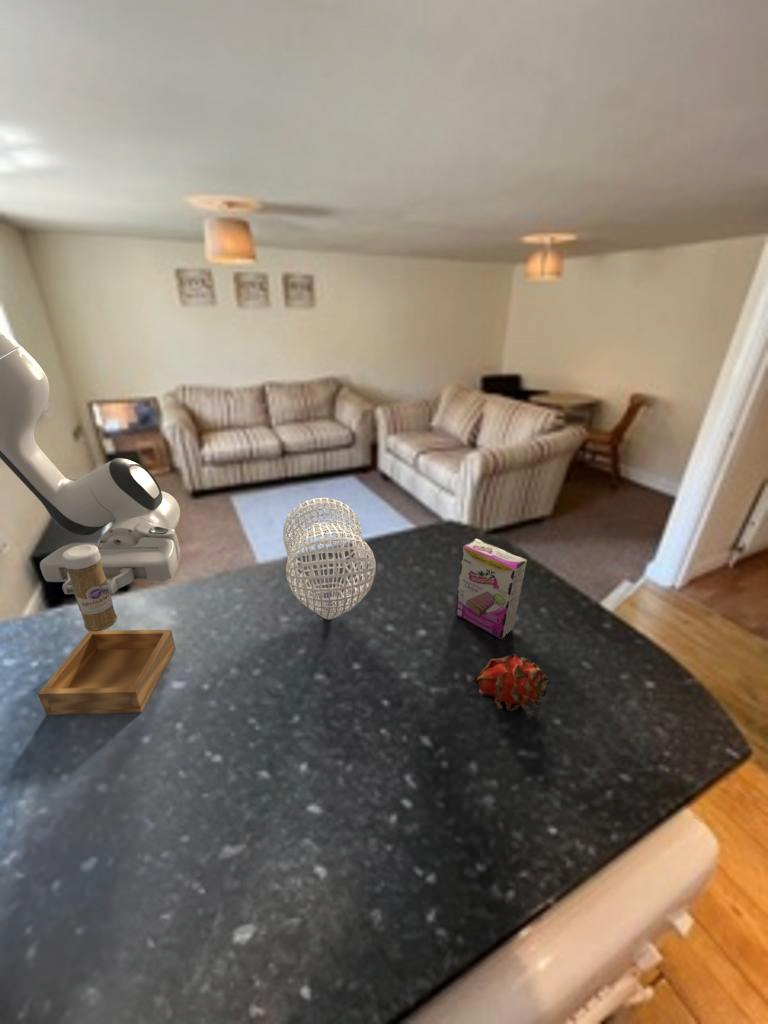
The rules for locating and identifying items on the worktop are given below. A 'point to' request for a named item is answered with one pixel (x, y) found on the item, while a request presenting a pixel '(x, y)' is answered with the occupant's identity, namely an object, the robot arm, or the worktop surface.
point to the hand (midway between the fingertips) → (87, 590)
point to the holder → (109, 673)
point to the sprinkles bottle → (89, 586)
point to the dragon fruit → (512, 682)
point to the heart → (357, 546)
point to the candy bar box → (489, 587)
